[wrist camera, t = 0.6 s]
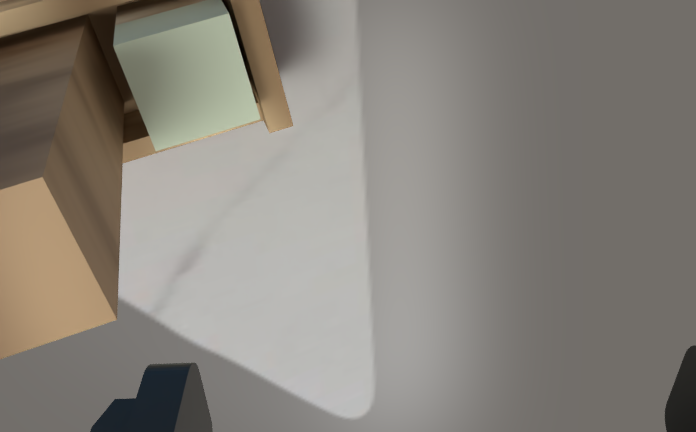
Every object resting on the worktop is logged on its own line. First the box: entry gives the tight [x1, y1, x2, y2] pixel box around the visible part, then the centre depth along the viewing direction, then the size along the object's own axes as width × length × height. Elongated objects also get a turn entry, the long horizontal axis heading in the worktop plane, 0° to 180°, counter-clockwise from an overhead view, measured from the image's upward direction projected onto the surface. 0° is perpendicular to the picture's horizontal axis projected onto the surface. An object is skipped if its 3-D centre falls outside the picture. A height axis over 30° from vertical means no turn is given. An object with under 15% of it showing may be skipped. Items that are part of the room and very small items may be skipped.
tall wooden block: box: [0, 14, 124, 359], centre depth 21 cm, size 6×4×16 cm, turn 102°
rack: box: [0, 0, 293, 163], centre depth 26 cm, size 13×7×6 cm, turn 102°
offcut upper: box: [113, 0, 260, 151], centre depth 24 cm, size 4×4×3 cm
